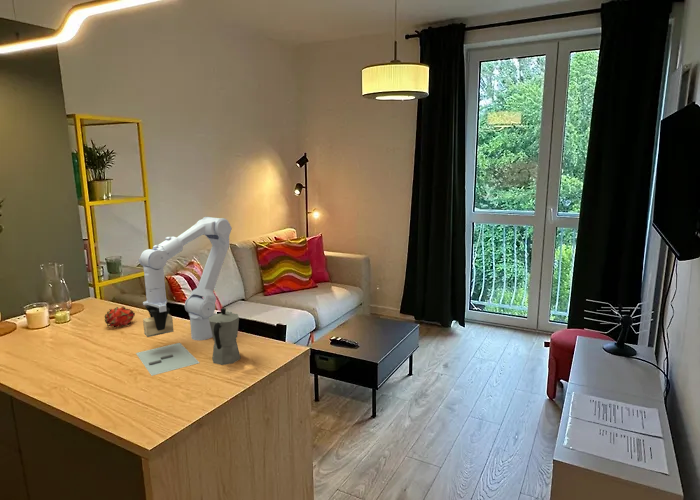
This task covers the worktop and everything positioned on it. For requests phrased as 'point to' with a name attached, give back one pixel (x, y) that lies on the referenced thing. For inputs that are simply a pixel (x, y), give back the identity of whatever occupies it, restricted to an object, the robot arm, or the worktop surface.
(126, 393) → the worktop surface
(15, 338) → the worktop surface
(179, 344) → the board
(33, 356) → the worktop surface
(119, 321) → the dragon fruit
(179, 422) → the worktop surface
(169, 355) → the pencil mark
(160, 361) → the pencil mark
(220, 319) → the coffeepot
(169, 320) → the block
